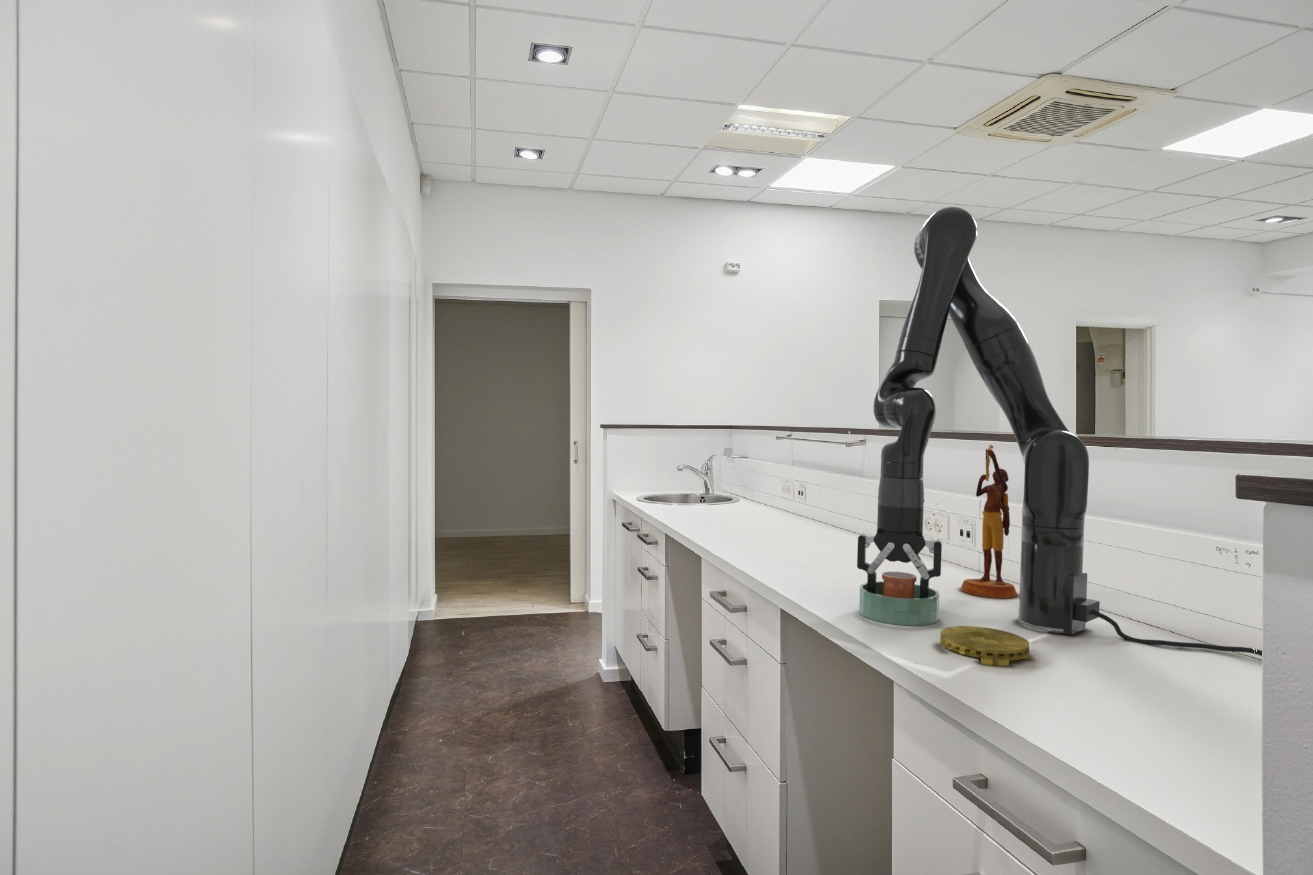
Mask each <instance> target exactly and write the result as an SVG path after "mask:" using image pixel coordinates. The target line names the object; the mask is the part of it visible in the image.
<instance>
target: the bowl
mask: <svg viewBox="0 0 1313 875" xmlns="http://www.w3.org/2000/svg"><path fill="white" fill-rule="evenodd" d="M858 597H859V598H858V613H859V614H860V615H861V616H862V617H864V618H867V619H869V620H871V621H874V622H878V623H882V624H889V625H896V626H897V625H898V626H908V627H911V626H912V627H915V626H916V627H917V626H928V625H929V626H930V625H932V624H936V623H938V621H939V618H940V593H939V591H937V590H936V589H934V588H931V587H929V590H928V597H927V598H920V584H916V583H915V596H914V598H895V597H889V596H883V580H882V581H879V580H878V581H876V594H874V593H871V592H869V591H868V589H867V582H864V583H862V584H860V585H859V596H858Z"/></svg>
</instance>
